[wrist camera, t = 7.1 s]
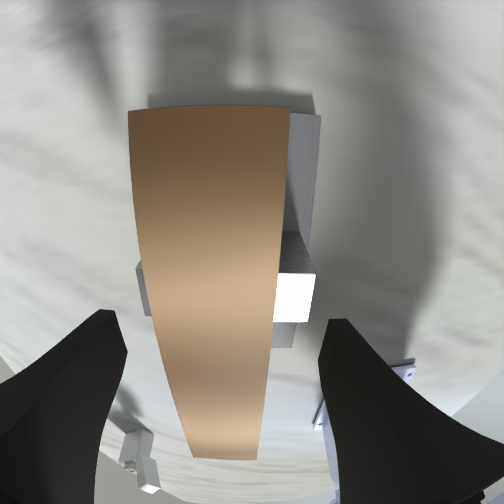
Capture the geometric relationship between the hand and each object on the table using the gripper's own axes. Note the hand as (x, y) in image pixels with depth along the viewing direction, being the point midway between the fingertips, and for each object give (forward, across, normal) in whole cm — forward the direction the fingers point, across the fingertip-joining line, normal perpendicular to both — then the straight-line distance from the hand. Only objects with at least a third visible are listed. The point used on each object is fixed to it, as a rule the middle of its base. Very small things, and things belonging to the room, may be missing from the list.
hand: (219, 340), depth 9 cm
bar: (+2, 0, 0) cm, 2 cm away
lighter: (+8, +10, +24) cm, 27 cm away
